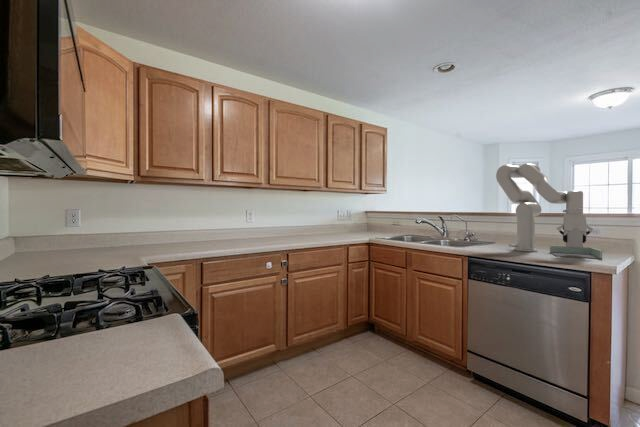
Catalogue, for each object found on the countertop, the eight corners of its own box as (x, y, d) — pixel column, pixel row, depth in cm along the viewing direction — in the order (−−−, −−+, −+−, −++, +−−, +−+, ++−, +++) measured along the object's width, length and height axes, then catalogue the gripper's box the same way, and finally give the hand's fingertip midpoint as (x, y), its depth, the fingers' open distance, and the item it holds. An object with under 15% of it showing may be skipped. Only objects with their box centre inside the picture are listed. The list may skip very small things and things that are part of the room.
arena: (556, 256, 171) (556, 248, 171) (549, 252, 185) (550, 245, 185) (602, 259, 161) (602, 250, 161) (591, 255, 176) (592, 247, 176)
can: (581, 247, 173) (581, 227, 173) (583, 249, 167) (584, 228, 167) (565, 247, 177) (565, 227, 177) (566, 248, 171) (566, 227, 171)
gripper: (557, 212, 173) (557, 242, 173) (596, 212, 165) (596, 243, 165) (554, 212, 179) (554, 241, 180) (591, 212, 171) (591, 242, 172)
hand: (574, 242), depth 172 cm, fingers closed on can, 7 cm apart
